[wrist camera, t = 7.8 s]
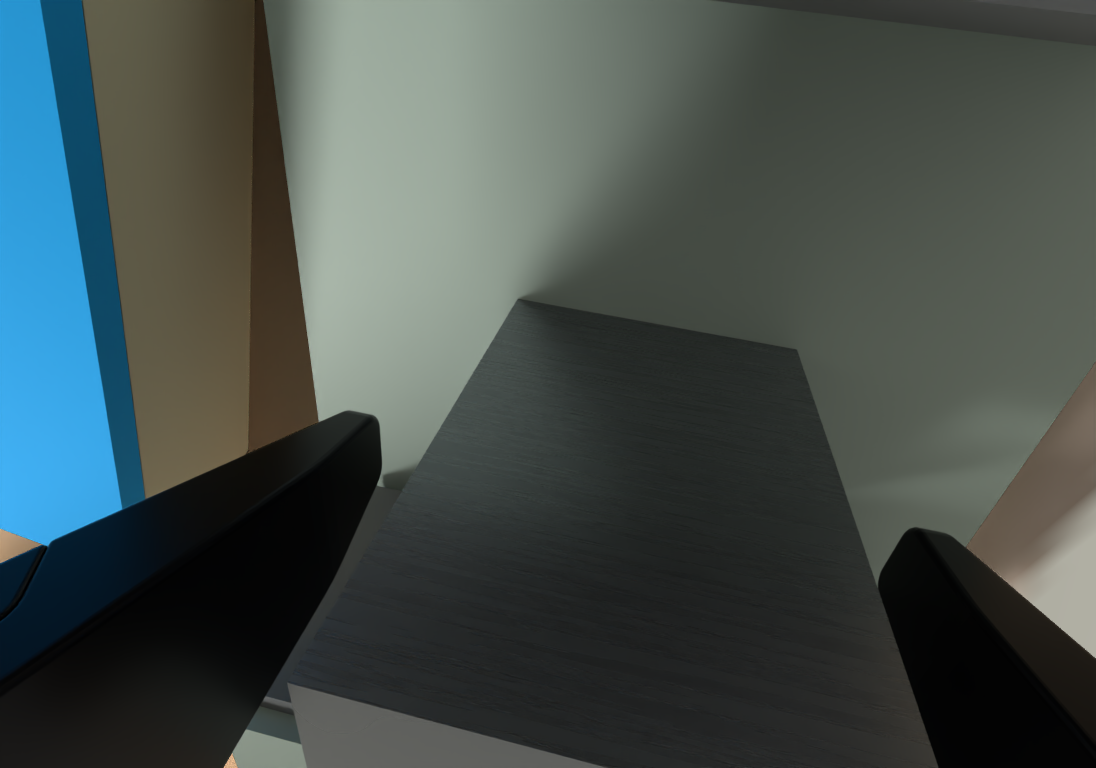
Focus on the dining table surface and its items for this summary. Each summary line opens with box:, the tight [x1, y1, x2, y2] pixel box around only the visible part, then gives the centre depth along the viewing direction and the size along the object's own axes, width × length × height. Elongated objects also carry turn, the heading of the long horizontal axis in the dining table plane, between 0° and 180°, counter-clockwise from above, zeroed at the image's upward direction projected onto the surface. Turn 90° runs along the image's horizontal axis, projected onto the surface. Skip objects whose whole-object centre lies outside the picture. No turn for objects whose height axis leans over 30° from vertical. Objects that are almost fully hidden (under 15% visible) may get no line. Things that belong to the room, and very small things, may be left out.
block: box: [287, 299, 938, 768], centre depth 7 cm, size 3×4×6 cm
